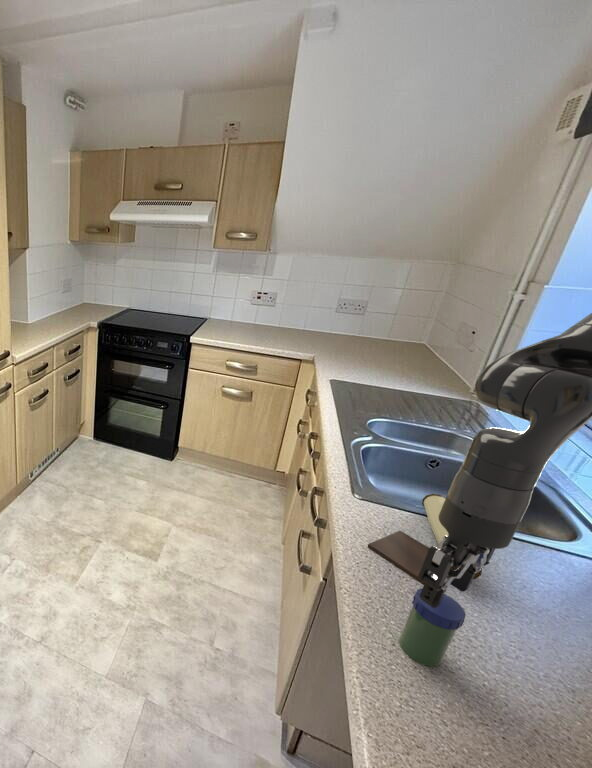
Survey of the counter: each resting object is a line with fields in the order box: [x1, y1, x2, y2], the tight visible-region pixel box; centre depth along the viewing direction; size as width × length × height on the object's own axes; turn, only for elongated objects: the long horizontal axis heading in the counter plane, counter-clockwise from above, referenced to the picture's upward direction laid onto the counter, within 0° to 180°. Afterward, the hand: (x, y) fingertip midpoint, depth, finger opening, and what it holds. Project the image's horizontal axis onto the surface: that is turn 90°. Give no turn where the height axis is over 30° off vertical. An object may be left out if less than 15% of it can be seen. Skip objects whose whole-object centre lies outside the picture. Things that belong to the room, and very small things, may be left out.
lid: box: [411, 587, 466, 631], centre depth 63 cm, size 6×6×2 cm
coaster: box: [367, 530, 435, 585], centre depth 85 cm, size 11×11×1 cm
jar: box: [398, 605, 457, 668], centre depth 64 cm, size 5×5×10 cm
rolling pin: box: [421, 493, 485, 584], centre depth 88 cm, size 32×6×5 cm, turn 149°
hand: (443, 594), depth 62 cm, fingers open, 7 cm apart
